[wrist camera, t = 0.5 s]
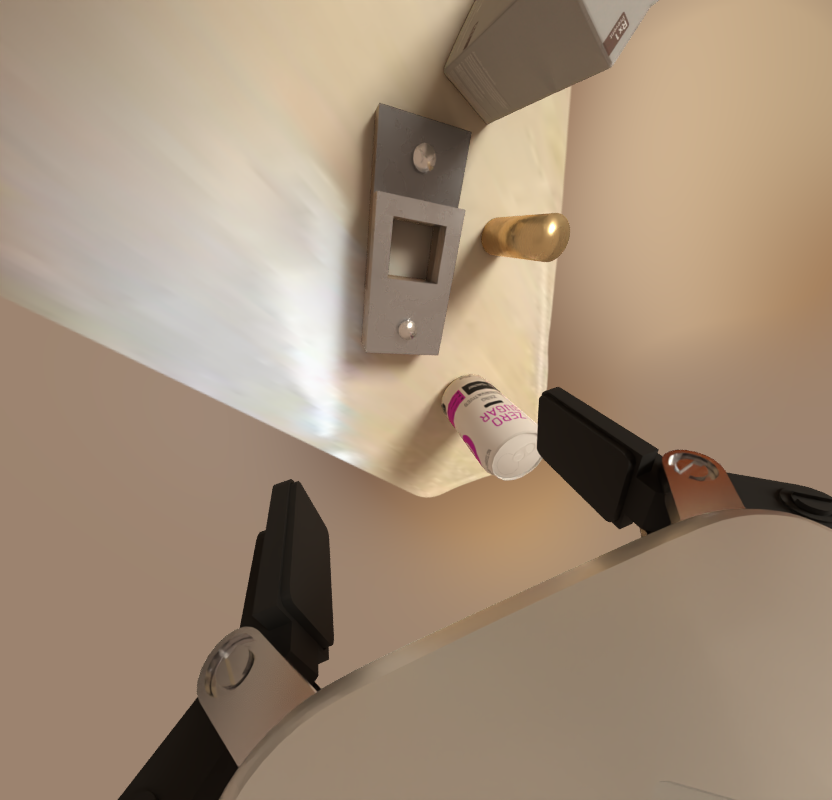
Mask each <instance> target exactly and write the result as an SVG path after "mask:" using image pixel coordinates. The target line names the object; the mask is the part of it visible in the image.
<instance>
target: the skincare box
mask: <svg viewBox="0 0 832 800" xmlns="http://www.w3.org/2000/svg"><path fill="white" fill-rule="evenodd" d="M657 1H658V0H475V2H474V4H473V6H472V8H471V10H470V12H469V14H468V16H467V18H466V20H465V22H464V25H463V27H462V29H461V31H460V33H459V35H458V37H457V40H456V42H455V44H454V46H453V49H452V51H451V53H450V55H449V58H448V60H447V62H446V65H445V67H444V73H445V75H446V76H447V77H448V78H449V79H450V81H451V82H452V83H453V84H454V85H455V87H456V88H457V89H458V90H459V91H460V93H461V94H462V95H463V96H464V97H465V99H466V100H467V101H468V102H469V103H470V105H471V106H472V107H473V108H474V110H475V111H476V112H477V113H478V114H479V116H480V117H481V118H482V119H483V120H484V122H485V123H486V124H489V123H491V122H493V121H496V120H498V119H500V118H502V117H504V116H506V115H509V114H511V113H513V112H515V111H517V110H519V109H522V108H524V107H526V106H528V105H530V104H532V103H535V102H537V101H539V100H541V99H543V98H545V97H547V96H549V95H551V94H554V93H556V92H558V91H561V90H563V89H565V88H567V87H569V86H571V85H574V84H576V83H578V82H580V81H583V80H585V79H587V78H589V77H591V76H594V75H596V74H598V73H600V72H602V71H605V70H607V69H609V68H611V67H612V66H613V64H614V63H615V61H616V60H617V58H618V56H619V55H620V53H621V52H622V50H623V49H624V47H625V46H626V44H627V43H628V41H629V40H630V38H631V36H632V35H633V33H634V32H635V30H636V29H637V27H638V25H639V24H640V22H641V21H642V19H643V18H644V16H645V15H646V13H647V11H648V10H649V8H650V7H651V6H652V5H654V4H655V3H656V2H657Z"/></svg>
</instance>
